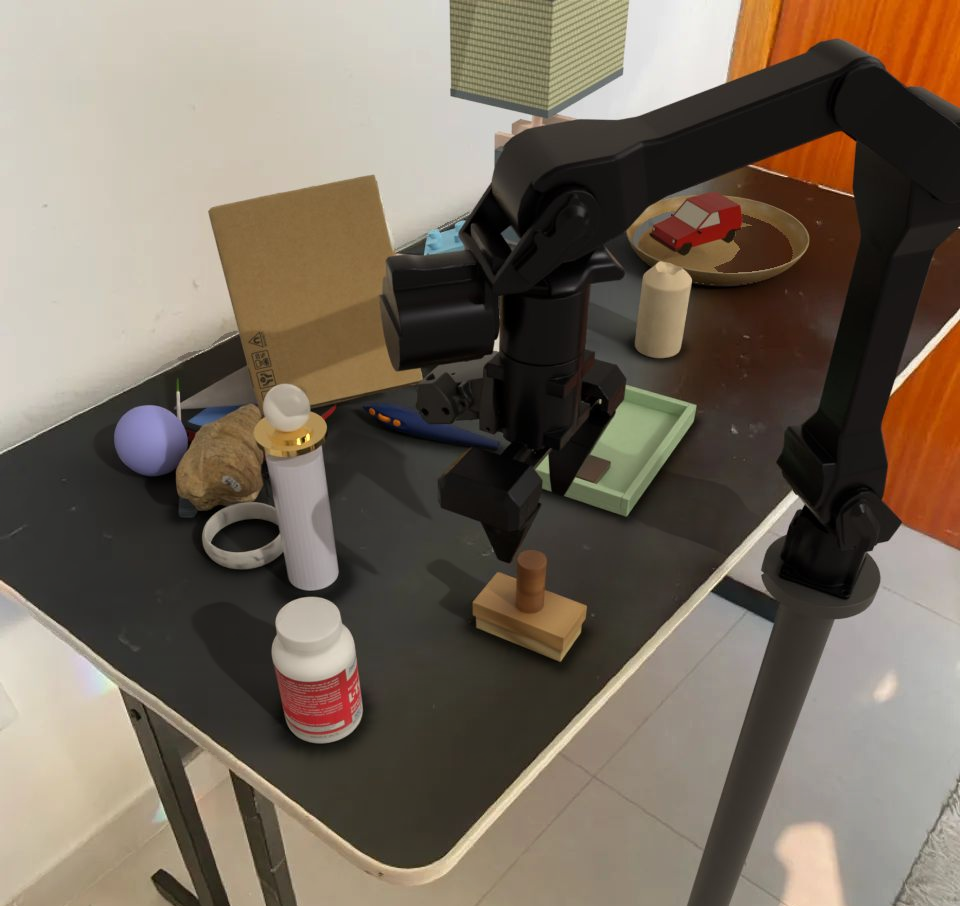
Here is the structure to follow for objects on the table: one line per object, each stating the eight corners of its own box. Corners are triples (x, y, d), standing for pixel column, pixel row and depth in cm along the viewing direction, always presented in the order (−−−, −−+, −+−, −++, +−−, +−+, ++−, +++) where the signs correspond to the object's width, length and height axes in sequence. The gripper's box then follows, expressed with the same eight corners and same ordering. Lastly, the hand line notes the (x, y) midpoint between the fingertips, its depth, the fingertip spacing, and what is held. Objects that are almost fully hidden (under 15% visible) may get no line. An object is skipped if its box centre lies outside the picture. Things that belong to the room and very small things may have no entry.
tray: (693, 421, 108) (697, 404, 106) (626, 517, 96) (628, 499, 95) (588, 390, 112) (589, 374, 110) (511, 478, 100) (512, 461, 99)
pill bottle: (368, 739, 77) (356, 641, 69) (290, 753, 76) (268, 656, 68) (357, 680, 82) (344, 582, 74) (282, 693, 81) (261, 595, 73)
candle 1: (351, 560, 92) (328, 369, 77) (339, 603, 88) (312, 410, 73) (290, 556, 92) (256, 365, 78) (275, 598, 88) (236, 405, 74)
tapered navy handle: (502, 450, 105) (506, 429, 104) (491, 462, 103) (494, 441, 101) (369, 411, 109) (370, 390, 107) (354, 422, 106) (356, 400, 104)
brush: (584, 632, 86) (592, 561, 80) (561, 664, 83) (567, 593, 77) (497, 597, 88) (498, 527, 83) (472, 628, 86) (472, 557, 80)
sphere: (167, 469, 95) (95, 449, 95) (181, 494, 102) (114, 475, 101) (190, 404, 96) (119, 384, 96) (202, 432, 103) (136, 414, 103)
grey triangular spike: (188, 438, 108) (302, 404, 110) (183, 435, 104) (302, 399, 105) (170, 386, 107) (285, 352, 109) (163, 380, 103) (284, 345, 104)
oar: (192, 379, 105) (191, 376, 104) (198, 519, 96) (197, 516, 96) (173, 381, 104) (172, 378, 104) (179, 521, 96) (178, 518, 96)
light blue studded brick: (470, 206, 128) (487, 263, 132) (426, 220, 129) (444, 275, 134) (468, 239, 119) (485, 298, 123) (420, 254, 120) (439, 312, 125)
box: (376, 171, 101) (376, 180, 103) (205, 206, 99) (209, 214, 101) (425, 381, 103) (424, 385, 105) (259, 418, 101) (262, 421, 103)
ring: (205, 577, 90) (200, 561, 89) (204, 521, 96) (200, 505, 94) (293, 565, 91) (290, 549, 90) (288, 511, 97) (285, 494, 95)
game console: (341, 409, 109) (339, 392, 107) (275, 473, 101) (271, 455, 99) (233, 378, 113) (229, 360, 111) (161, 436, 105) (156, 418, 103)
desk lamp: (541, 288, 128) (556, -6, 104) (451, 261, 133) (446, -25, 110) (609, 236, 138) (636, -42, 115) (523, 212, 144) (532, -58, 120)
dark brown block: (610, 467, 101) (611, 461, 100) (593, 488, 98) (594, 482, 98) (575, 455, 102) (575, 449, 102) (557, 476, 100) (558, 470, 99)
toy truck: (645, 243, 129) (651, 204, 125) (711, 225, 133) (719, 187, 130) (675, 261, 125) (682, 221, 122) (741, 242, 130) (750, 203, 126)
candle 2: (688, 343, 119) (701, 262, 112) (668, 363, 116) (681, 282, 108) (646, 330, 121) (657, 250, 114) (626, 350, 118) (636, 269, 110)
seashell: (200, 392, 100) (227, 354, 94) (273, 430, 104) (303, 395, 97) (155, 505, 95) (180, 473, 88) (234, 541, 98) (263, 512, 92)
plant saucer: (591, 264, 133) (593, 240, 130) (673, 202, 146) (676, 179, 144) (758, 315, 123) (764, 290, 121) (830, 244, 137) (836, 220, 134)
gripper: (500, 259, 74) (497, 435, 85) (362, 378, 62) (379, 562, 74) (639, 294, 70) (617, 473, 81) (518, 427, 59) (512, 614, 70)
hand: (532, 526), depth 77 cm, fingers open, 9 cm apart
